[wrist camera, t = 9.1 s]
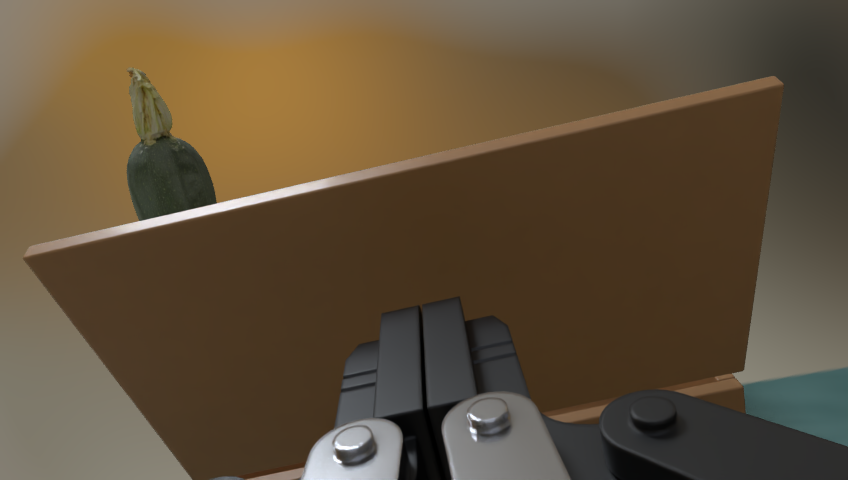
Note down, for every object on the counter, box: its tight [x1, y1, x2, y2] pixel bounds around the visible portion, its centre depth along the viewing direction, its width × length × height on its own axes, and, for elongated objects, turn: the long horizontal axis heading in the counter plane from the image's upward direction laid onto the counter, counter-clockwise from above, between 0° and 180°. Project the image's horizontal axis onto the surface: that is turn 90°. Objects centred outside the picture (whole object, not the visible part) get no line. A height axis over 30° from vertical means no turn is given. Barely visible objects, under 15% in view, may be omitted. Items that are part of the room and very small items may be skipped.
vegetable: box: [127, 68, 217, 221], centre depth 39 cm, size 4×4×20 cm
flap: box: [23, 76, 784, 480], centre depth 16 cm, size 15×8×1 cm
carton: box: [235, 373, 746, 480], centre depth 28 cm, size 15×17×8 cm
